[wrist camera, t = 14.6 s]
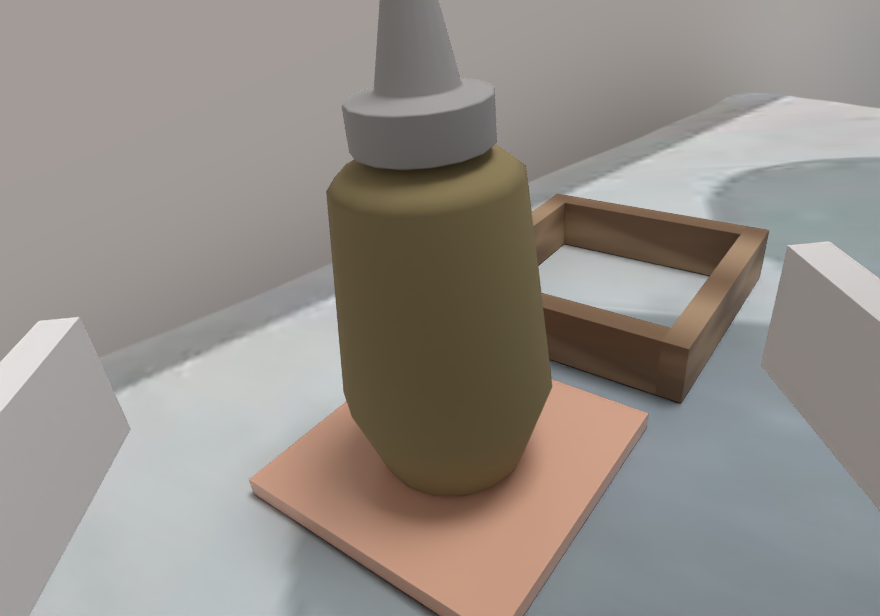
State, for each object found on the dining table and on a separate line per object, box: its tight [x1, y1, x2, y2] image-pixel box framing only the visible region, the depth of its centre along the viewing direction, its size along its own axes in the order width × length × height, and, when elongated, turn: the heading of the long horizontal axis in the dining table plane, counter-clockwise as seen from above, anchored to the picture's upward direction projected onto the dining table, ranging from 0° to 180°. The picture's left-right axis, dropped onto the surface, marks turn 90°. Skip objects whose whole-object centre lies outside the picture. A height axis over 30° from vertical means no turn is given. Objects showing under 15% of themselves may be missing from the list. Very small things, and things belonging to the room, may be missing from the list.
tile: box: [249, 380, 648, 616], centre depth 27 cm, size 12×12×1 cm
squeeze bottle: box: [326, 0, 552, 496], centre depth 22 cm, size 8×8×18 cm
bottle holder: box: [532, 194, 769, 403], centre depth 36 cm, size 13×13×3 cm
